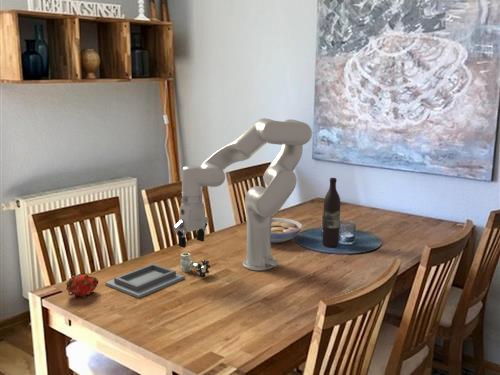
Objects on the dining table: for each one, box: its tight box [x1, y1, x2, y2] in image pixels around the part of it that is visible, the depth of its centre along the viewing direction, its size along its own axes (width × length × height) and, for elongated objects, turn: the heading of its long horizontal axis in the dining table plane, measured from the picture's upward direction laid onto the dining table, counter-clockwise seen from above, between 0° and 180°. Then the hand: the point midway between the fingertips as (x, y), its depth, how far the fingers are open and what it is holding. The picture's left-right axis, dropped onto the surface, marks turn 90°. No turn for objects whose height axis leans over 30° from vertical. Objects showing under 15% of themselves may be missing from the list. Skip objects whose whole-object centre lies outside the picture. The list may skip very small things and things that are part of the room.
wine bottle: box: [321, 177, 341, 248], centre depth 236 cm, size 7×7×30 cm
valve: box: [179, 252, 211, 278], centre depth 206 cm, size 7×7×12 cm
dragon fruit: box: [65, 273, 99, 298], centre depth 186 cm, size 8×8×12 cm
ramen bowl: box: [271, 217, 303, 244], centre depth 244 cm, size 25×23×8 cm
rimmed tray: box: [104, 263, 186, 299], centre depth 198 cm, size 18×22×3 cm
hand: (191, 243), depth 204 cm, fingers open, 9 cm apart
